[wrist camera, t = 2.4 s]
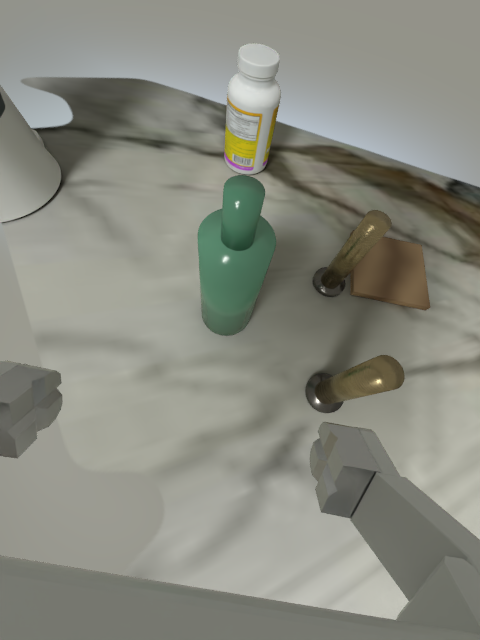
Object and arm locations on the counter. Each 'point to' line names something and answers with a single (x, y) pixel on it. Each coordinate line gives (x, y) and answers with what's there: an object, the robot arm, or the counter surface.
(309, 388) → the post
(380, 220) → the post
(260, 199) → the bottle
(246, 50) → the supplement bottle
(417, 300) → the plate
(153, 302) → the counter surface
